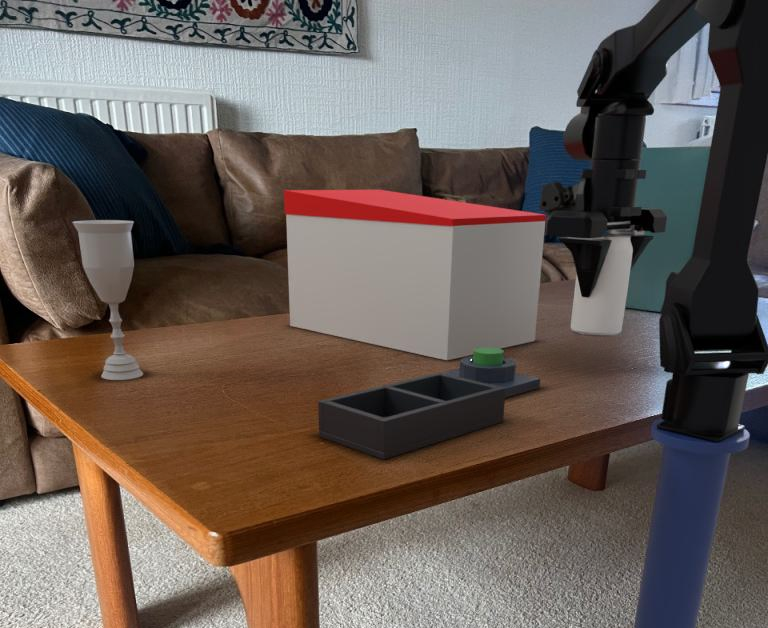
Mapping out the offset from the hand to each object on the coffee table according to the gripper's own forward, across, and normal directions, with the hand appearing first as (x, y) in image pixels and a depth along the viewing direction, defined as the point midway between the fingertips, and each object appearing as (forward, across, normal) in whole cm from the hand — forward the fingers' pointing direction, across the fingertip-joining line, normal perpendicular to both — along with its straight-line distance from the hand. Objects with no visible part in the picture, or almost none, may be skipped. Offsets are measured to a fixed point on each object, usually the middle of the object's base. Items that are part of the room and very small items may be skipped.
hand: (600, 294), depth 99 cm
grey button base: (+10, +17, -4) cm, 20 cm away
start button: (+7, +17, -4) cm, 19 cm away
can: (+5, 0, 0) cm, 5 cm away
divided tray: (+10, +36, +2) cm, 37 cm away
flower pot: (+10, -56, -19) cm, 60 cm away
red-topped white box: (+10, 0, -34) cm, 35 cm away
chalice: (+10, +47, -38) cm, 61 cm away
